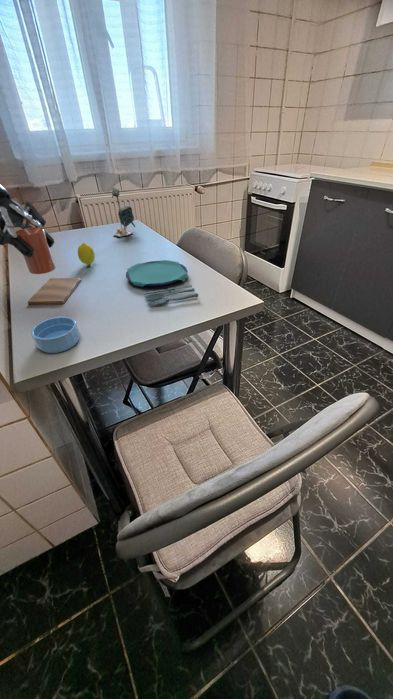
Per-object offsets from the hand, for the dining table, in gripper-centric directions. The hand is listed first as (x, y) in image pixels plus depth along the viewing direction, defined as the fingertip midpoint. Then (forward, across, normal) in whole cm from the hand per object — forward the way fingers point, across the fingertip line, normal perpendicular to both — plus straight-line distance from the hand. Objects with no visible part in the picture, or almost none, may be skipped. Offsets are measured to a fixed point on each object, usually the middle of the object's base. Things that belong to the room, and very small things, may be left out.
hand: (42, 249), depth 64 cm
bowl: (+16, -8, +10) cm, 21 cm away
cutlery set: (+23, +28, +4) cm, 36 cm away
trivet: (+3, +13, +23) cm, 27 cm away
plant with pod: (-4, +73, +32) cm, 80 cm away
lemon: (+1, +35, +26) cm, 44 cm away
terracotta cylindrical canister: (+2, 0, +5) cm, 5 cm away
